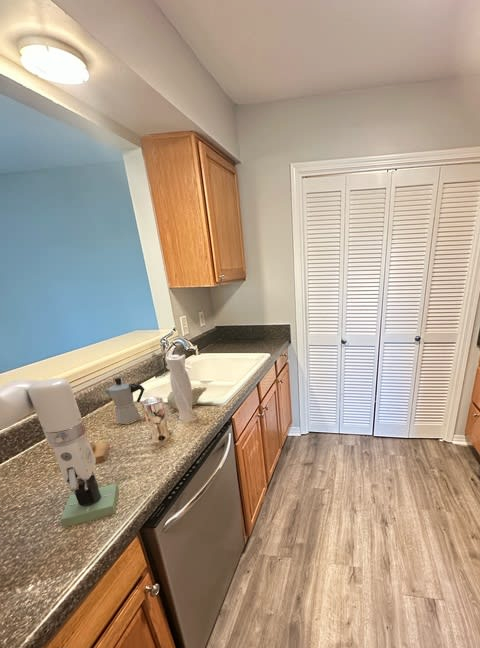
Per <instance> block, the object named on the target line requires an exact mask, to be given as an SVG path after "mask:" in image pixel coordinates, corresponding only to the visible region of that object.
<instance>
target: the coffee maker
mask: <svg viewBox="0 0 480 648" xmlns="http://www.w3.org/2000/svg"><path fill="white" fill-rule="evenodd" d="M121 378H122V377H115V378H114V382H115V384H114V385H112V386H110V387H108V388H106V389H105V388H104V389H103V390H102V392H104V393H105V394H106V395H107V396H108V397H109V398H111V400H112V402H113V404H114V406H115V417H116V423H117V422H118V423H121V424H124V423H131V422H133V421H135V420H138V419H139V417H140V418H141V415H140V413H139V411H138V409H137V407H136V405H135V403H134V393H135V392H137V391H139V390H140V391H139V395H138V397H137V399H136V402H137V404H139V403H140V402H141V399H142V397H143V394H144V392H145V390H146V389H145V388H144V387H143V385H142V384H136V383H135V382H133V383H122V379H121ZM139 420H140V419H139Z"/></svg>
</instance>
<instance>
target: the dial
mask: <svg viewBox="0 0 480 648" xmlns="http://www.w3.org/2000/svg"><path fill="white" fill-rule="evenodd" d="M95 478H96V476H95V477H93V476H91V477H90V478H89V479H86V480H87V484H88V488H89V487H90V488H91V491H92V494H93V497H94V502H92V503H88V504H84V505H81V506H89V505H92V504H95V503H96V502H98V501H99V500H100V499H101V494H100V491H99V488H100V487H99V484H98V481H97V478H96V479H95ZM96 481H97V482H96ZM78 484H79V485H80V484H82V485H83V482H82V481H80V482H78ZM97 484H98V485H97Z"/></svg>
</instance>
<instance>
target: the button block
mask: <svg viewBox="0 0 480 648" xmlns="http://www.w3.org/2000/svg"><path fill="white" fill-rule="evenodd" d="M89 443H90V445H91V448H92V450H93V453H94V455H95V458H96V463H95V464H99V463H104V462H106V461H107V457H108V453H109V449H110V445H109V442H108V441H102V442H98V443H94V442H89ZM108 448H109V449H108ZM107 452H108V453H107Z"/></svg>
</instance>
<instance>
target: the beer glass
mask: <svg viewBox="0 0 480 648" xmlns="http://www.w3.org/2000/svg"><path fill="white" fill-rule="evenodd" d="M141 403H142V404H141V405H142V412H143V416H144V419H145V421H146V423H147V425H148V427H149V430H150V432H151V440H152V443H153V442H154V443H153V444H156V443H160V444H164V443H167V442H169V441H170V440H171V437H172V436H171V434H170V432H169V429H168V413H167V408H166V405H165V401H164V399H163V397H160V396H154V397H149V398H146V399H144V400H142V402H141ZM169 439H170V440H169ZM166 441H167V442H166ZM163 442H164V443H163Z"/></svg>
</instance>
